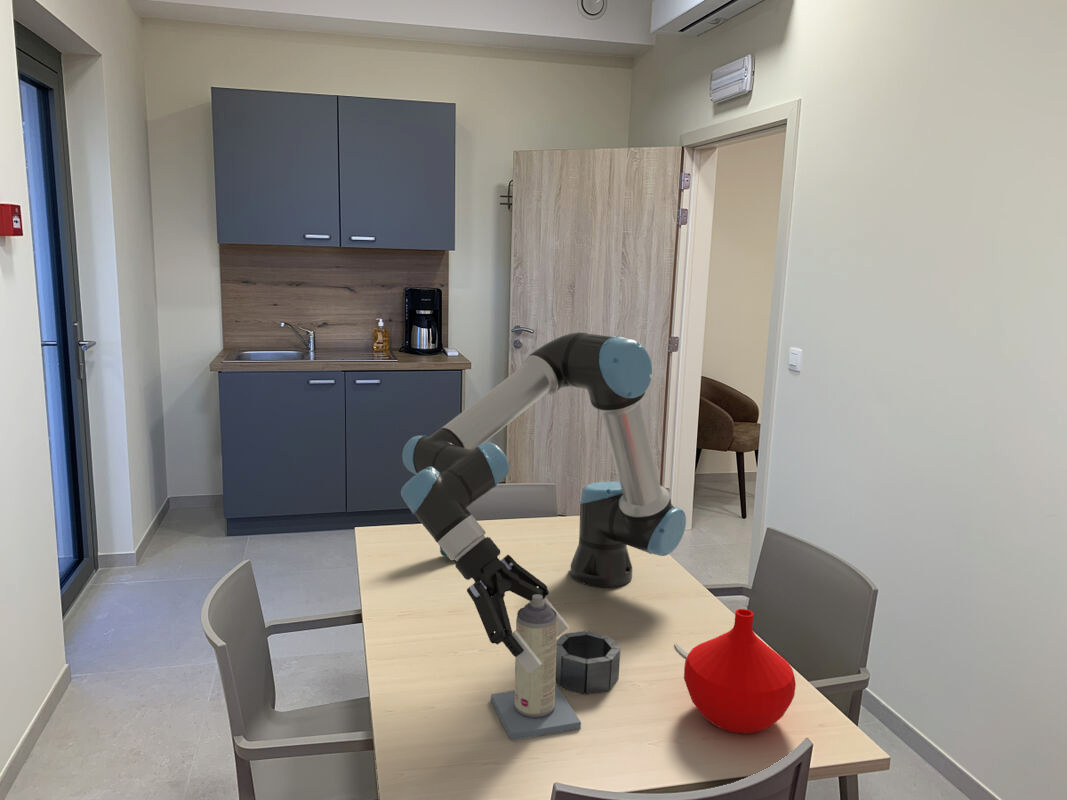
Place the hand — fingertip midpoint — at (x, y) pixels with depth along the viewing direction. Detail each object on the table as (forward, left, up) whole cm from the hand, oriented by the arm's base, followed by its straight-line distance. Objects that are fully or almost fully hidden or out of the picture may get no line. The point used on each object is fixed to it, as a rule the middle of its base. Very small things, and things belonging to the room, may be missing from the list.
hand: (550, 649), depth 131 cm
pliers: (-37, -9, -13) cm, 40 cm away
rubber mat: (+2, -1, -12) cm, 13 cm away
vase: (-31, +9, -13) cm, 35 cm away
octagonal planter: (-11, -10, -12) cm, 20 cm away
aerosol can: (+2, -2, -11) cm, 12 cm away
